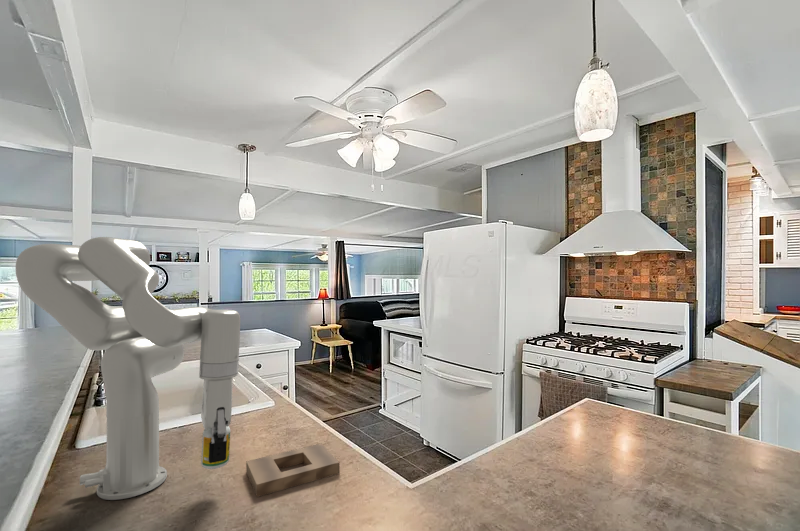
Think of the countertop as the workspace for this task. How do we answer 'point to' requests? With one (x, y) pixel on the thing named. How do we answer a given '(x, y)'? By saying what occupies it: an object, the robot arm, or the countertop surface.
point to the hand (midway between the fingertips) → (215, 453)
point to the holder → (272, 479)
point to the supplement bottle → (205, 449)
